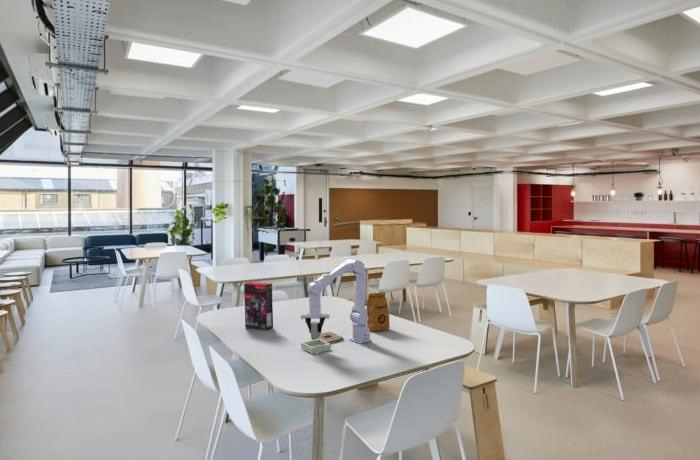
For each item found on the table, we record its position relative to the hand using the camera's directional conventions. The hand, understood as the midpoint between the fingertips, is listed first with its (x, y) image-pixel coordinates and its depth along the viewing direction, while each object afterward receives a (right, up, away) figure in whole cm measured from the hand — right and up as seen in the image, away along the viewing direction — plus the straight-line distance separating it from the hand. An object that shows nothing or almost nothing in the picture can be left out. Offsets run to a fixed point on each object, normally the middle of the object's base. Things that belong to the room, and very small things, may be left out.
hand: (315, 332), depth 219 cm
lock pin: (0, -2, 0) cm, 2 cm away
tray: (0, -8, 0) cm, 8 cm away
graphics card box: (-37, -7, +40) cm, 55 cm away
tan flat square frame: (+5, -7, +16) cm, 18 cm away
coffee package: (+34, -6, +32) cm, 47 cm away
